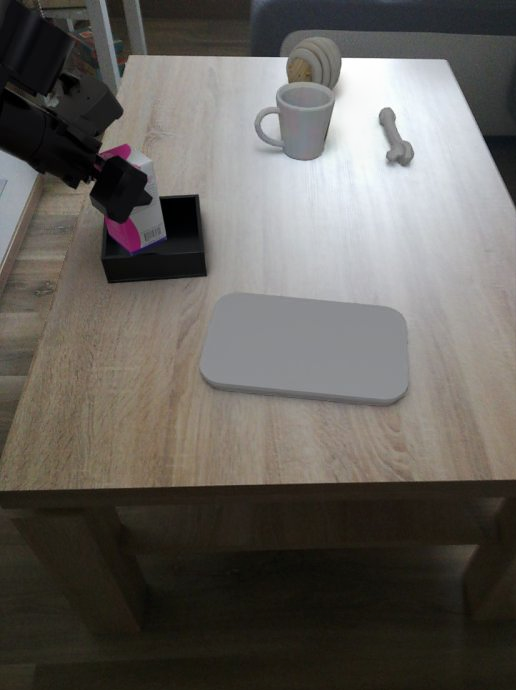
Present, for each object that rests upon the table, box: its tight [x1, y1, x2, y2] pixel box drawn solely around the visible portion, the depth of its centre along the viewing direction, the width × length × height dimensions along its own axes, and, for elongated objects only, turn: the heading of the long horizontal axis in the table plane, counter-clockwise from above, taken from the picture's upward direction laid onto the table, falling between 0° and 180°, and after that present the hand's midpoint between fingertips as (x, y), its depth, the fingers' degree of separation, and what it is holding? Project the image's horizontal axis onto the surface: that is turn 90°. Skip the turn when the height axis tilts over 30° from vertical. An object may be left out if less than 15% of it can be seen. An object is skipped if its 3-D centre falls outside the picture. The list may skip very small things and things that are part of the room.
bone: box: [378, 106, 415, 166], centre depth 106 cm, size 18×5×4 cm, turn 0°
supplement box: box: [93, 142, 167, 255], centre depth 72 cm, size 6×6×12 cm
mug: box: [253, 82, 336, 161], centre depth 100 cm, size 10×15×10 cm
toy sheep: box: [285, 36, 343, 92], centre depth 113 cm, size 11×17×11 cm, turn 150°
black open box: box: [100, 193, 208, 285], centre depth 84 cm, size 14×14×4 cm
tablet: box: [198, 291, 409, 407], centre depth 73 cm, size 16×26×2 cm, turn 85°
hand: (137, 190), depth 72 cm, fingers closed on supplement box, 6 cm apart
